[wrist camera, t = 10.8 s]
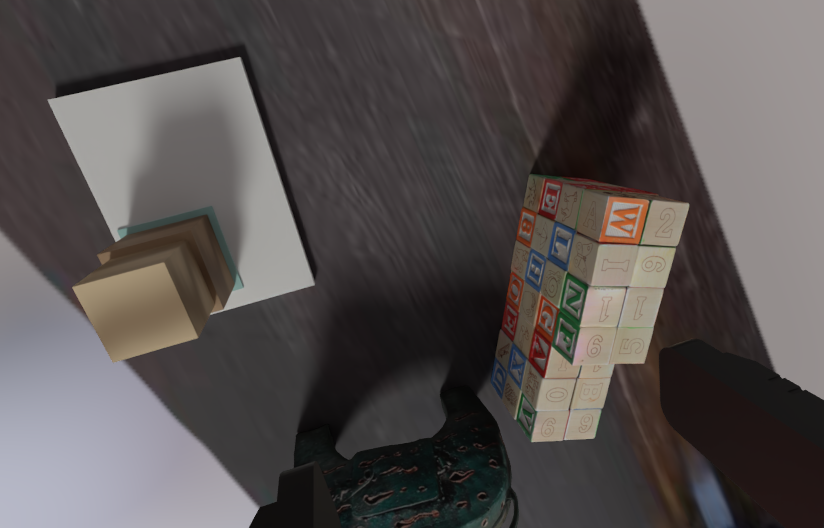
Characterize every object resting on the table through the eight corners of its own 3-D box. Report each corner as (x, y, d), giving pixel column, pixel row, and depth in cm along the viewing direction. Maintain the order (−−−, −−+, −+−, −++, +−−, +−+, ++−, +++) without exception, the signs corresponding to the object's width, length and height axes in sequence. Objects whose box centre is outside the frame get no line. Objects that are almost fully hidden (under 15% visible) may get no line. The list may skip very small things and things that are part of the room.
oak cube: (109, 259, 30) (72, 287, 25) (187, 239, 30) (163, 262, 26) (142, 325, 32) (112, 362, 27) (214, 304, 32) (198, 337, 28)
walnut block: (126, 235, 34) (97, 254, 30) (207, 214, 35) (190, 230, 30) (159, 305, 36) (136, 333, 32) (234, 284, 37) (223, 309, 32)
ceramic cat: (291, 473, 45) (275, 725, 27) (272, 421, 43) (240, 657, 25) (480, 417, 48) (585, 612, 29) (471, 365, 46) (580, 540, 27)
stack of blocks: (544, 381, 48) (616, 465, 37) (488, 382, 47) (545, 470, 35) (590, 177, 42) (694, 202, 30) (527, 171, 40) (611, 195, 29)
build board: (55, 100, 32) (45, 99, 31) (241, 58, 33) (239, 56, 32) (162, 324, 38) (157, 330, 37) (314, 280, 40) (314, 285, 38)
